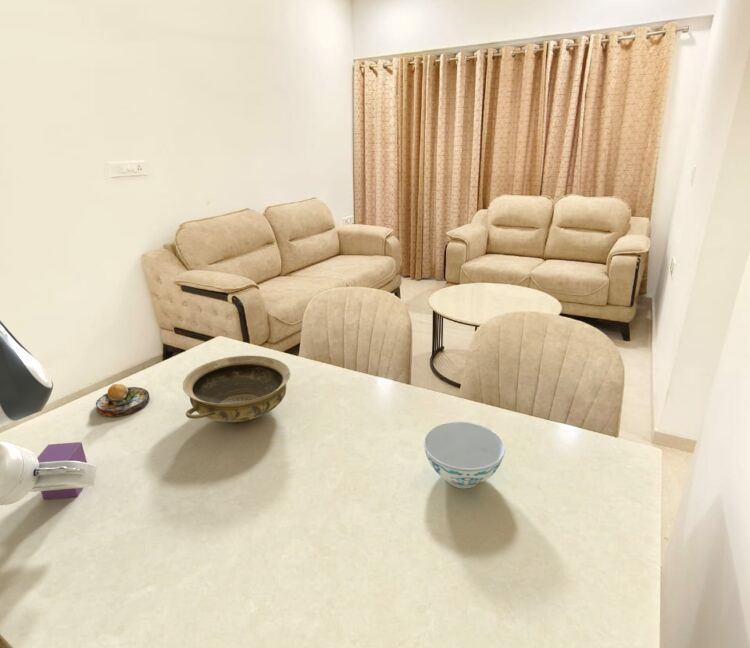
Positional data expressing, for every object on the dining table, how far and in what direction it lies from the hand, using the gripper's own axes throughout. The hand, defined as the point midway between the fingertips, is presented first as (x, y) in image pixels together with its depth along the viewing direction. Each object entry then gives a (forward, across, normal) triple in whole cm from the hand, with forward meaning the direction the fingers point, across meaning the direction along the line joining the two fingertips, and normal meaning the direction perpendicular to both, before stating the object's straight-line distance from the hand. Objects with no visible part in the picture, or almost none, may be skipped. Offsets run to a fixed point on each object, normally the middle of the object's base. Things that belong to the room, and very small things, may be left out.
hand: (50, 484), depth 89 cm
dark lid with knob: (+28, 0, -22) cm, 36 cm away
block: (+6, 0, 0) cm, 6 cm away
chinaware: (+1, -75, +5) cm, 75 cm away
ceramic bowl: (+22, -30, -16) cm, 41 cm away
